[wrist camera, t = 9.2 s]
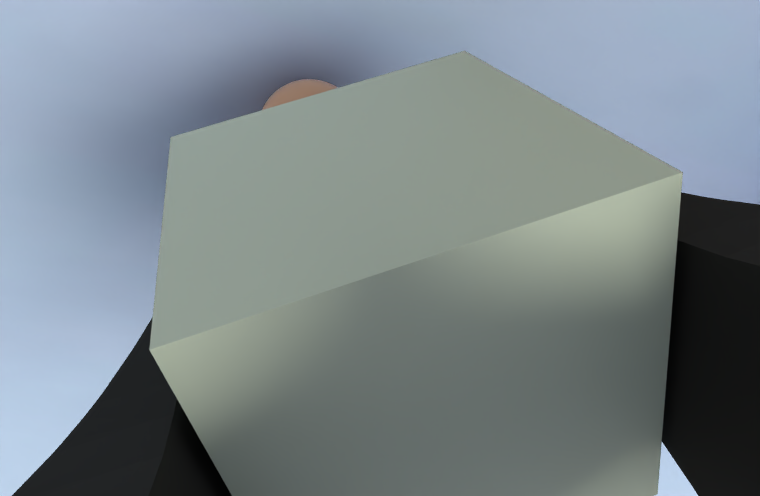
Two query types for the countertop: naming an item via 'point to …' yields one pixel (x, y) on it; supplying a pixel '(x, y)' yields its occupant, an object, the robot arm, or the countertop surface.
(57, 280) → the countertop surface
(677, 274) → the robot arm
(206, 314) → the grey-green cube
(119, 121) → the countertop surface
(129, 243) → the countertop surface
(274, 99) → the marble
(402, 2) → the countertop surface
